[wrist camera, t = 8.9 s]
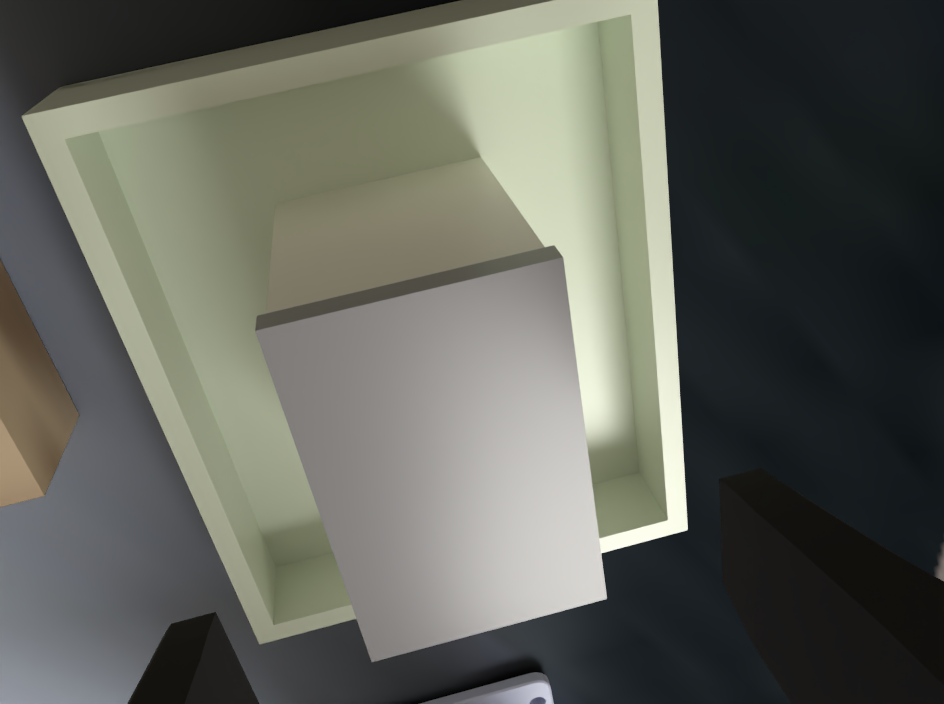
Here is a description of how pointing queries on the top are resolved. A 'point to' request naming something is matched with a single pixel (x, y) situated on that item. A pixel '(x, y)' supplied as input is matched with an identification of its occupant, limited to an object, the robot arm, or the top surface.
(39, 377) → the dock
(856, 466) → the top surface
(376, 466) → the grey box
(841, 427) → the top surface
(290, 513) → the tray
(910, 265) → the top surface
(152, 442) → the top surface
